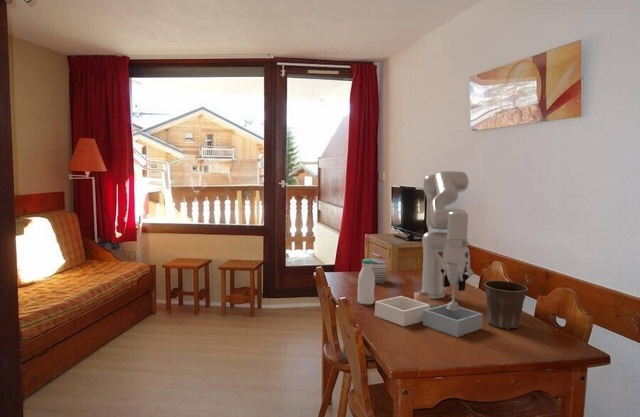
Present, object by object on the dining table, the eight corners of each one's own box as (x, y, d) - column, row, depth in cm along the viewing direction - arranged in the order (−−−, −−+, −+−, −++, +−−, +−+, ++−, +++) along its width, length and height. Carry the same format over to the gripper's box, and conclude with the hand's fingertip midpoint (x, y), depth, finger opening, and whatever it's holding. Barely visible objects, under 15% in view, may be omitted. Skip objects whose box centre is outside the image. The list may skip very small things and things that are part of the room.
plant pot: (526, 334, 172) (529, 292, 171) (481, 328, 178) (484, 287, 176) (523, 321, 188) (526, 283, 186) (482, 316, 193) (484, 279, 192)
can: (365, 278, 256) (366, 257, 255) (385, 279, 255) (386, 258, 254) (364, 283, 245) (365, 261, 244) (386, 284, 244) (386, 262, 243)
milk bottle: (373, 305, 204) (375, 261, 202) (356, 304, 206) (357, 260, 204) (374, 300, 212) (376, 258, 210) (358, 299, 213) (359, 257, 211)
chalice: (441, 305, 181) (443, 261, 179) (457, 305, 181) (460, 261, 180) (448, 311, 174) (450, 265, 172) (465, 311, 174) (467, 265, 173)
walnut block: (426, 313, 195) (426, 301, 195) (437, 315, 193) (438, 303, 192) (422, 316, 191) (422, 304, 191) (434, 318, 188) (434, 306, 188)
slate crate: (447, 317, 190) (448, 303, 189) (481, 328, 177) (482, 313, 176) (422, 324, 180) (423, 310, 179) (457, 337, 167) (457, 321, 167)
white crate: (400, 309, 200) (401, 295, 199) (429, 319, 187) (430, 304, 186) (374, 315, 190) (375, 301, 189) (403, 326, 177) (404, 311, 177)
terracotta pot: (420, 305, 205) (421, 290, 205) (432, 309, 200) (433, 294, 199) (410, 308, 201) (410, 292, 201) (422, 312, 196) (423, 296, 195)
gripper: (481, 245, 171) (479, 292, 172) (444, 239, 185) (442, 282, 186) (470, 247, 166) (467, 295, 168) (432, 240, 180) (430, 285, 181)
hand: (454, 288), depth 177 cm, fingers closed on chalice, 6 cm apart
